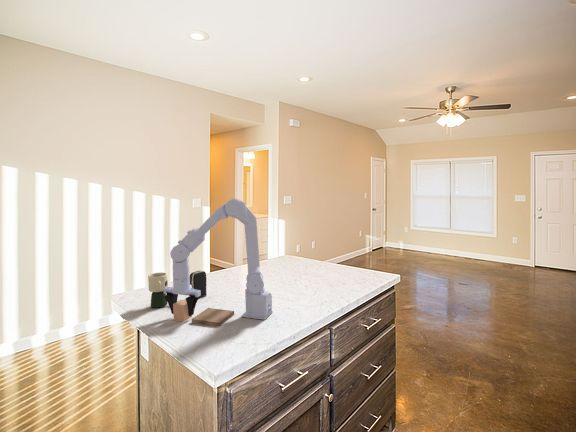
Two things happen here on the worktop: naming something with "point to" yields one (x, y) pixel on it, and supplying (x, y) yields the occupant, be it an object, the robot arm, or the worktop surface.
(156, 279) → the character mug
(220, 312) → the walnut board
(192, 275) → the battery charger
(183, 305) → the terracotta block
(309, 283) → the worktop surface
